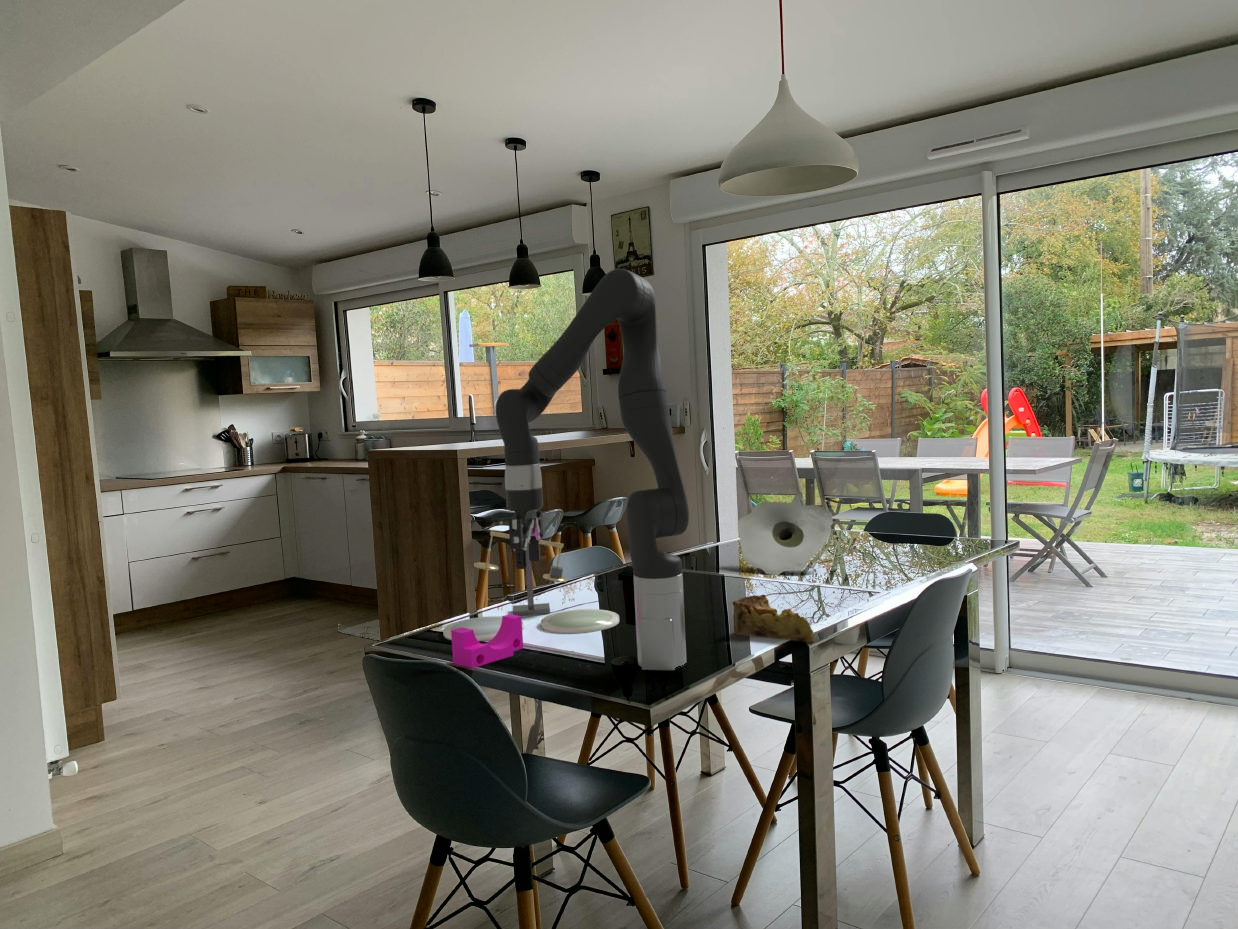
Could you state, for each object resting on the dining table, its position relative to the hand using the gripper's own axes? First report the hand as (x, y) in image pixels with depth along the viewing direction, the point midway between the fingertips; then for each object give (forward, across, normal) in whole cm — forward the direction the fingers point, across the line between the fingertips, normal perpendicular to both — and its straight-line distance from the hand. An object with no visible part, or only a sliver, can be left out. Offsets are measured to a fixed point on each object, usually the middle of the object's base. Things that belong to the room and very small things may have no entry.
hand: (528, 564), depth 181 cm
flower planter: (+12, +86, -61) cm, 107 cm away
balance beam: (0, +31, +11) cm, 33 cm away
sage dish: (+18, +21, -4) cm, 28 cm away
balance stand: (+18, +31, +11) cm, 38 cm away
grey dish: (+18, +13, +16) cm, 28 cm away
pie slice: (+18, +10, -50) cm, 54 cm away
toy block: (+18, -7, +6) cm, 21 cm away
